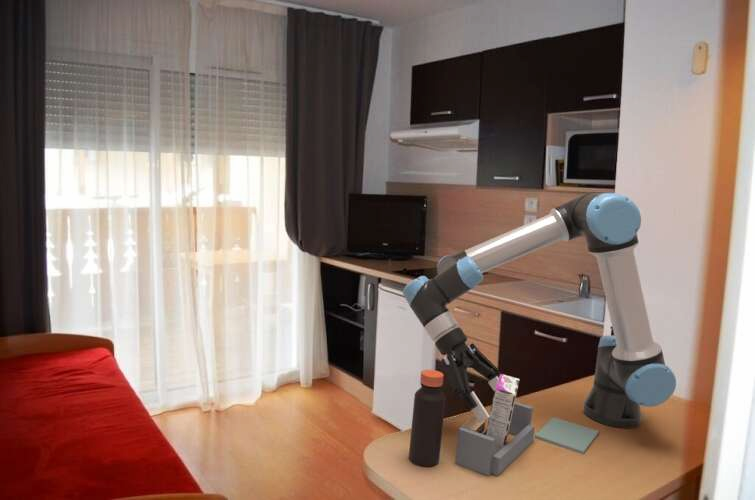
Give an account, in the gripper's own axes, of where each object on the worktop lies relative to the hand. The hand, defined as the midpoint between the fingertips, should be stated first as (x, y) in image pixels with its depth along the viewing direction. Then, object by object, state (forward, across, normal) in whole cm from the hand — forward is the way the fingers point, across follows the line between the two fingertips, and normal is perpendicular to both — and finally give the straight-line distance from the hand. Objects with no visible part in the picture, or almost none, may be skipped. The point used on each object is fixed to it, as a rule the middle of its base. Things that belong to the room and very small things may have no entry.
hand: (497, 410), depth 132 cm
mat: (+15, -21, +1) cm, 26 cm away
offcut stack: (+3, +1, -10) cm, 11 cm away
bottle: (0, +16, -14) cm, 21 cm away
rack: (+7, 0, -6) cm, 9 cm away
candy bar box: (+7, 0, -7) cm, 9 cm away
